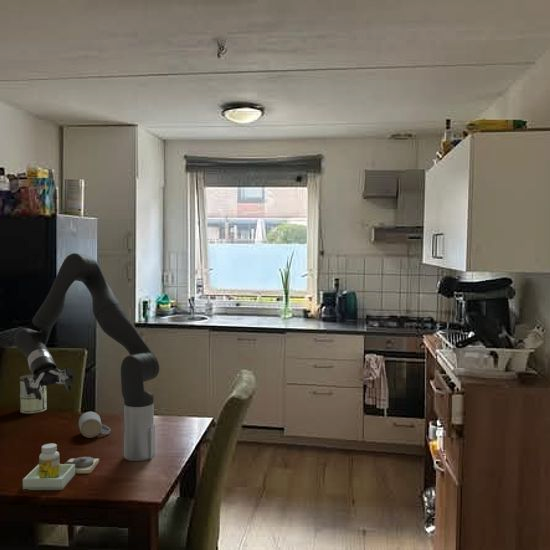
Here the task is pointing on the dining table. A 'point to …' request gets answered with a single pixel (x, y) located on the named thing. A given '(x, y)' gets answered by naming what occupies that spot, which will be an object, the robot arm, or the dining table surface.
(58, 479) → the tray
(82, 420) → the ceramic mug
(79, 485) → the dining table surface
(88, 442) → the dining table surface
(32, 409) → the coffee can
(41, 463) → the supplement bottle
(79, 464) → the beige board with disc
